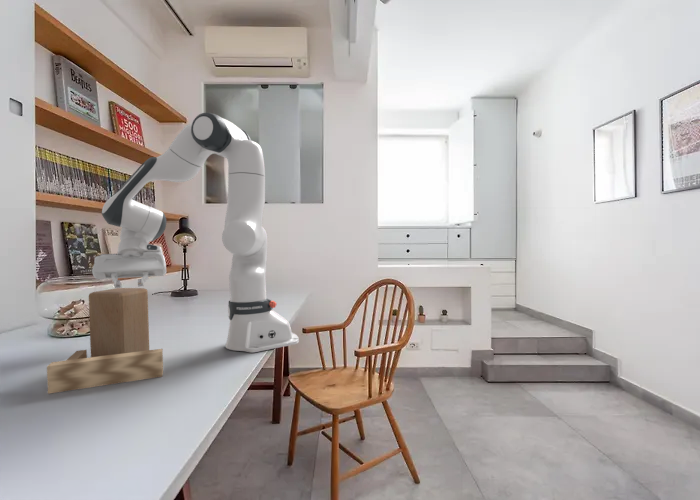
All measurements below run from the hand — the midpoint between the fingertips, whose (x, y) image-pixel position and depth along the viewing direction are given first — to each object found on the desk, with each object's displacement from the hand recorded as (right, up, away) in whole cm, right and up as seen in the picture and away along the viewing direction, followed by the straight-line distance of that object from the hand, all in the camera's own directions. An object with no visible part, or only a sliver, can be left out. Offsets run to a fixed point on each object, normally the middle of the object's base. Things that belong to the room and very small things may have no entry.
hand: (129, 285), depth 109 cm
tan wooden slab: (+11, -20, -23) cm, 32 cm away
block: (+7, -20, -14) cm, 25 cm away
